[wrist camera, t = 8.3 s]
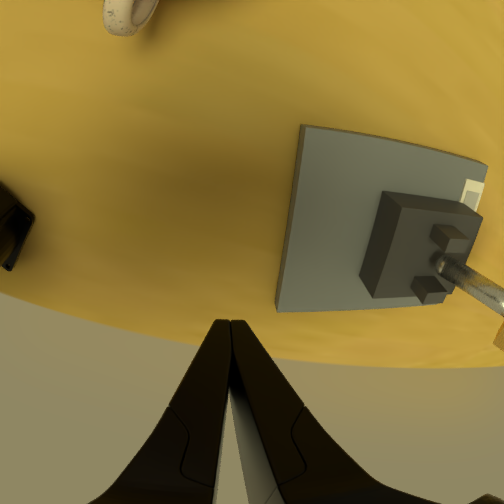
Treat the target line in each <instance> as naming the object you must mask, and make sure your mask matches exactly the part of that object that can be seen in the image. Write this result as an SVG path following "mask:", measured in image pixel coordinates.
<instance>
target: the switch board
mask: <svg viewBox="0 0 504 504" xmlns="http://www.w3.org/2000/svg"><path fill="white" fill-rule="evenodd" d="M487 169H488V166H487V165H485V164H483V163H482V162H480V161H477V160H473V159H470V158H467V157H463V156H460V155H456V154H453V153H449V152H445V151H442V150H438V149H434V148H430V147H426V146H422V145H418V144H413V143H409V142H405V141H400V140H395V139H390V138H386V137H380V136H375V135H370V134H364V133H359V132H353V131H347V130H340V129H334V128H327V127H319V126H312V125H303V124H301V128H300V136H299V143H298V151H297V158H296V166H295V173H294V180H293V187H292V194H291V201H290V208H289V215H288V222H287V228H286V235H285V241H284V248H283V254H282V260H281V267H280V273H279V279H278V285H277V291H276V297H275V306H276V310H277V312H317V311H344V310H364V309H382V308H397V307H411V306H423V305H435V304H437V303H443V301H444V299H445V297H446V295H447V294H452V292H453V290H454V288H455V285H453V284H452V283H450V282H449V281H447V280H445V279H444V278H442V277H440V276H439V275H438V274H437V272H436V270H435V263H436V261H437V259H438V258H439V257H440V256H442V255H449V256H451V257H453V258H455V259H456V260H458V261H460V262H462V263H463V264H465V263H466V261H467V259H468V256H469V254H470V251H471V249H472V246H473V244H474V241H475V239H476V236H477V233H478V231H479V228H480V225H481V222H482V220H483V217H482V216H480V215H479V214H478V213H476V210H477V207H478V204H479V201H480V198H481V195H482V191H483V188H484V185H485V183H484V180H485V176H486V172H487Z"/></svg>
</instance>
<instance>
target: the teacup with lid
mask: <svg viewBox="0 0 504 504" xmlns="http://www.w3.org/2000/svg"><path fill="white" fill-rule="evenodd" d="M133 2H134V3H133ZM158 2H159V0H135V1H134V0H104V5H103V23H104V26H105V28H106V30H107V31H108V32H109V33H111V34H113V35H117V36H132V35H134V34H136V33H138V32H139V31H140V30H141V29H142V28H143V27H144V26H145V25H146V24H147V22H148V21H149V19H150V18H151V16H152V14H153V12H154V10H155V8H156V6H157V4H158Z"/></svg>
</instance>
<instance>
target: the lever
mask: <svg viewBox="0 0 504 504" xmlns="http://www.w3.org/2000/svg"><path fill="white" fill-rule="evenodd" d="M435 270H436V272H437V274H438V275H439V276H440V277H442V278H444V279H445V280H447V281H449V282H450V283H452V284H453V285H455V286H457V287H458V288H460V289H461V290H463V291H465V292H466V293H468V294H469V295H471V296H472V297H474V298H476V299H477V300H479V301H480V302H482V303H483V304H485V305H486V306H488V307H489V308H491V309H492V310H494V311H495V312H497V313H498V314H500V315H501V316H503V317H504V288H502V287H501V286H499V285H497V284H496V283H494V282H493V281H491V280H490V279H488V278H486V277H485V276H483V275H481V274H480V273H478V272H477V271H475V270H473V269H472V268H470V267H468V266H467V265H465V264H463V263H462V262H460V261H458V260H456V259H455V258H453V257H451V256H449V255H442V256H440V257H439V258H438V259H437V261H436V263H435ZM493 344H494V345H495V346H497V347H498V348H500V349H501V350H502V351H504V322H503V324H502V325H501V327H500V329H499V330H498V333H497V335H496V337H495V340H494V342H493Z"/></svg>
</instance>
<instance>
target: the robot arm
mask: <svg viewBox="0 0 504 504" xmlns="http://www.w3.org/2000/svg"><path fill="white" fill-rule="evenodd" d="M27 217H28V218H29V220H30V221H29V220H28V219H27ZM34 220H35V218H34V215H33V214H32V213H31V212H30V211H29V210H27V209H26V208H25V207H24V206H23V205H21V204H20V203H19V202H18V201H17V200H15V199H14V198H13V197H12V196H11V195H10V194H8V193H7V192H6V191H5V190H4V189H3V188H2V187H0V267H1V266H2V267H3V268H4V269H6V270H7V271H12V269H13V268H14V266H15V264H16V261H17V259H18V256H19V254H20V252H21V249H22V247H23V245H24V243H25V240H26V238H27V236H28V234H29V232H30V229H31V227H32V225H33V223H34ZM228 394H230V402H231V408H232V414H233V420H234V426H235V431H236V437H237V443H238V448H239V454H240V459H241V464H242V470H243V475H244V480H245V486H246V490H247V495H248V501H249V504H440V503H436V502H433V501H430V500H426V499H423V498H420V497H417V496H414V495H411V494H408V493H405V492H402V491H399V490H396V489H393V488H391V487H388V486H386V485H384V484H382V483H380V482H379V481H377V480H375V479H374V478H372V477H371V476H370V475H369V474H368V473H367V472H366V471H365V470H364V469H363V468H362V467H360V466H359V465H358V464H357V463H356V462H355V461H354V460H353V459H352V458H351V457H350V456H349V455H348V454H347V453H346V452H345V451H344V450H343V449H342V448H341V447H340V446H339V445H338V444H337V443H336V442H335V441H334V440H333V439H332V438H331V436H330V435H329V434H328V433H327V432H326V431H325V430H324V429H323V427H322V426H321V425H320V424H319V423H318V422H317V420H316V419H315V418H314V416H313V415H312V414H311V412H310V411H309V409H308V408H307V407H306V406H304V403H303V402H302V400H301V399H300V398H299V396H298V395H297V393H296V392H295V391H294V389H293V388H292V386H291V385H290V384H289V382H288V381H287V379H286V378H285V377H284V375H283V374H282V372H281V371H280V370H279V368H278V367H277V365H276V364H275V363H274V361H273V360H272V358H271V357H270V356H269V354H268V353H267V351H266V350H265V348H264V347H263V346H262V344H261V343H260V341H259V340H258V338H257V337H256V335H255V334H254V333H253V331H252V330H251V328H250V327H249V325H248V324H247V322H246V321H245V320H231V321H229V320H227V319H216V320H215V321H214V322H213V324H212V326H211V328H210V330H209V331H208V333H207V335H206V337H205V339H204V341H203V342H202V344H201V346H200V348H199V350H198V352H197V353H196V355H195V357H194V359H193V361H192V362H191V364H190V366H189V368H188V370H187V372H186V373H185V375H184V377H183V379H182V381H181V383H180V384H179V386H178V388H177V390H176V392H175V394H174V395H173V397H172V399H171V401H170V403H169V407H167V408H166V410H165V411H164V413H163V415H162V417H161V419H160V420H159V422H158V424H157V425H156V427H155V429H154V430H153V432H152V433H151V435H150V436H149V438H148V439H147V440H146V442H145V443H144V445H143V446H142V447H141V449H140V450H139V451H138V453H137V454H136V455H135V456H134V458H133V459H132V460H131V462H130V463H129V464H128V465H127V467H126V468H125V469H124V471H123V472H122V473H121V474H120V476H119V477H118V478H117V479H116V481H115V482H114V483H113V484H112V485H111V486H110V487H109V488H108V489H107V490H106V491H105V492H104V493H103V494H102V495H100V496H99V497H97V498H96V499H94V500H93V501H91V502H89V503H88V504H216V499H217V490H218V481H219V472H220V463H221V454H222V445H223V438H224V429H225V420H226V412H227V403H228ZM469 504H504V501H503V500H501V499H500V498H498V497H495V496H493V495H490V494H485V495H483V496H481V497H480V498H478V499H476V500H474V501H473V502H471V503H469Z"/></svg>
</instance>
